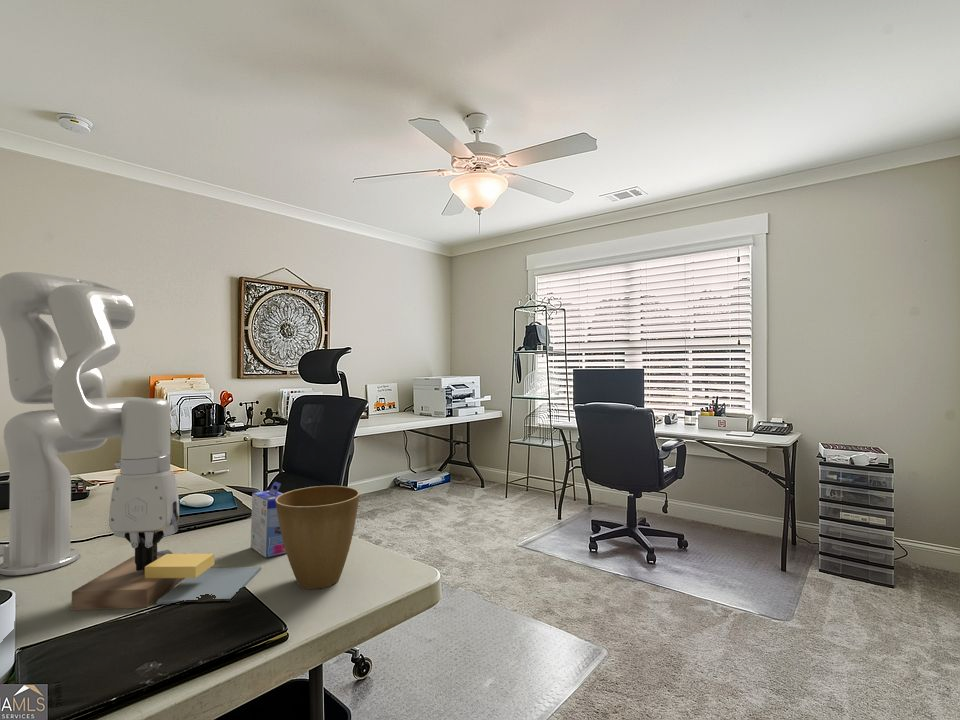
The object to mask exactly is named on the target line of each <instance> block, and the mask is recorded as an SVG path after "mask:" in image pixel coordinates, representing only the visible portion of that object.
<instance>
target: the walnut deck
mask: <svg viewBox="0 0 960 720" xmlns="http://www.w3.org/2000/svg"><path fill="white" fill-rule="evenodd" d="M162 556H164V555H162ZM162 556H157V559H159V558H161V557H162ZM185 579H186V578H145V570H140V571H137V570H136V564H135V555H134V556H131V557H130V558H128V559H127V560H124V561H123V562H121V563H119V564H117V565H116V566H114V567H112V568H111V569H109V570H107V571H106V572H104V573H102V574H100V575H99V576H97V577H95V578H93V579H91V580H89V581H88V582H86V583H84V584H83V585H81V586H80V587H77V588H76V589H74V590H73V591H71V611H85V610H90V611H91V610H107V609H108V610H111V609H112V610H114V609H134V608H135V609H136V608H139V609H140V608H149V606H151V605H152V604H154V603H155V602H157V601H158V600H159V599H161V598H162V597H163V596H164V595H166V594H167V593H168V592H170V591H171V590H172V589H173V588H175V587H176V586H177V585H179V584H180V583H181V582H182V581H184V580H185Z"/></svg>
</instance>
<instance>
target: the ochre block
mask: <svg viewBox="0 0 960 720" xmlns="http://www.w3.org/2000/svg"><path fill="white" fill-rule="evenodd" d="M214 565H215V553H173V554H166V555H164V556H162V557H161V558H159V559H157V560H155V561H154V562H152V563H150V564H149V565H147V566H145V578H185V579H186V578H196V577H198V576H199V575H200V574H202V573H203V572H205V571H206V570H207V569H209V568H211V567H213V566H214Z"/></svg>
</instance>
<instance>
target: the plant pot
mask: <svg viewBox="0 0 960 720" xmlns="http://www.w3.org/2000/svg"><path fill="white" fill-rule="evenodd" d="M360 494H361V493H360V491H359V490H358V489H357V488H354V487H349V486H343V485H342V486H341V485H320V486H318V485H317V486H309V487H304V488H298V489H293V490H290V491H287V492H284V493H283V494H281V495H279V496H278V497H277V498H276V500H275V502H276V508H277V514H278V520H279V525H280V530H281V535H282V539H283V543H284V546H285V550H286V556H287V559H288V562H289V565H290V568H291V571H292V572H293V575H294V577H295V579H296V582H297V584H298V586H299V587H301V588H303V589H306V590H317V589H324V588H327V587H330V586H332V585H335V584H337V582H339V580H340V579H341V576H342V574H343V570H344V567H345V565H346V562H347V561H346V560H347V557H348V554H349V552H350V548H351V543H352V540H353V535H354V530H355V526H356V522H357V515H358V507H359V501H360Z"/></svg>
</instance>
